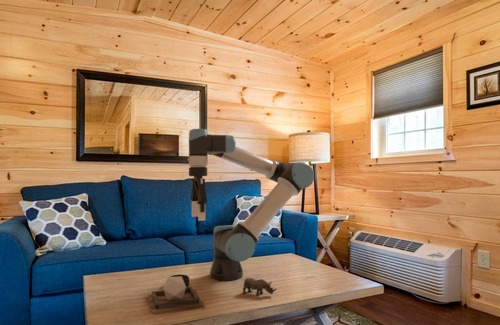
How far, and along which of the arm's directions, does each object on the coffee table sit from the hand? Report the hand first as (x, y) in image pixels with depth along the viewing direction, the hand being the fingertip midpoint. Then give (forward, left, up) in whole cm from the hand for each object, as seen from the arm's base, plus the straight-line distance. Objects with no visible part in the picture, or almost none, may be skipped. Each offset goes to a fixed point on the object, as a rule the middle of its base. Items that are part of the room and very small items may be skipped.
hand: (198, 218), depth 144 cm
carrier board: (+11, -11, -29) cm, 33 cm away
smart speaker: (-7, -7, -29) cm, 31 cm away
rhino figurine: (+14, +21, -29) cm, 39 cm away
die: (+10, -11, -28) cm, 32 cm away
